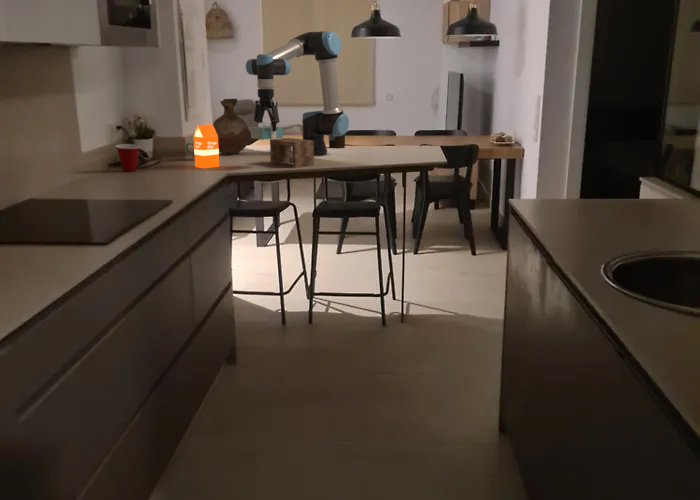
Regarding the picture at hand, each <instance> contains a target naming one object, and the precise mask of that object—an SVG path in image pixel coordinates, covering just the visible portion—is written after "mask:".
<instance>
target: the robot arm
mask: <svg viewBox="0 0 700 500" xmlns="http://www.w3.org/2000/svg"><path fill="white" fill-rule="evenodd" d="M340 39H341V38H340V37H339V35H338V34H337V33H336V32H334V31H328V30H325V31H323V30H321V31H309V32H304V33H301V34H300V35H297V36H295V37H293V38H291V39H290V40H289V41H288V43H286V44H283V45H282V46H280V47H278V48H276V49H274V50H272V51H269V52H268V53H260V54H257V56H256V58H250V59H247V61H246V63H245V70H246V73H247V74H249V75H251V76H256V77H257V79H256V81H257V88H258V89H257V97H258V98H259V100H254V101H255V102H254V104H255V105H254V106H255V108H254V114H253V115H254V117H253V121H254V122H256V124H257V125H256V127H263V126H264V121H263V119H264V115H265V112H266V111H267V114H268V116H269V119H270V123H269V124H270V125H269V126H270V132H271V138H275V139H277V138H276V127H277V124H279V123H280V117H279V111H278V101H275V100H273V98H274V97H275V90H274V89H273V88H275V82H274V76H282V77H283V76H287V75H289V73H290V72H291V70H292V69H291V68H292V67H291V63H290V60H292V59H294V58H300V57H302V56H314V59H315V61H316V62H317V63H318V68H319V69H318V70H319V77H320V84H321V85H320V86H321V92H322V93H321V95H322V103H323V108H322V110H315V111H306V112H303V113H302V118H301V121H302V122H301V123H302V125H301V126H302V139H304V140H312V141H314V156H322V155H327V154H328V149H327V145H326V143H325V136H328V137H329V136H342V135H344V134H345V135H346V133H347V131H348V128H349V125H350V119H349V117H348V115H347V114H345V113H344V109H343V108H342V107H341V106H340V105H341V104H340V96H339V87H338V84H339V83H338V76H337V67H336V60H337V59H338V55H339V54H340V53H341V49H342V42H341V40H340Z"/></svg>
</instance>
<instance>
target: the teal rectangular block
mask: <svg viewBox="0 0 700 500" xmlns="http://www.w3.org/2000/svg"><path fill="white" fill-rule="evenodd" d="M283 128H284V127H283V126H276V138H271V132H270V125H268V126H267V125H265V126H264V125H263V127H257V126H251V127H250V139H257V140H261V141H262V140H270V139H281V138H284V129H283Z"/></svg>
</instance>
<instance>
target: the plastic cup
mask: <svg viewBox="0 0 700 500" xmlns="http://www.w3.org/2000/svg"><path fill="white" fill-rule="evenodd" d="M115 148H116V150H117V153H118V157H119V160H120V165H121V169H122V172H123V173H133V172H134V173H135V172H136V171H137V167H138V159H139V158H138V157H139V152H140V151H139V150H140V148H141V145H138V144H136V143H135V144H132V143H120V144H116V145H115Z"/></svg>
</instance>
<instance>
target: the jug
mask: <svg viewBox="0 0 700 500" xmlns="http://www.w3.org/2000/svg"><path fill="white" fill-rule="evenodd" d="M237 103H238V98H224V99H222V100H221V101H220V104H221V105H222V107H223V109H224V110H223V114H222V115H221V116H219V117H218V118H216V119H215V120H214V122H213V126H214V129H215V131H216V133H217V135H218V148H219V153H221V154H222V155H224V156H233V155H237V154H240V152H242V151H243V150H244V149H245V148H246V147H247V146H248V144H249V142H250V139H251V131H250V129H249V127H248V125H247V123H246V121H245V120H244V119H243V118H241V117H240V116H238V115H236V114H235V110H234V108H235V106H236V105H237Z"/></svg>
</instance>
